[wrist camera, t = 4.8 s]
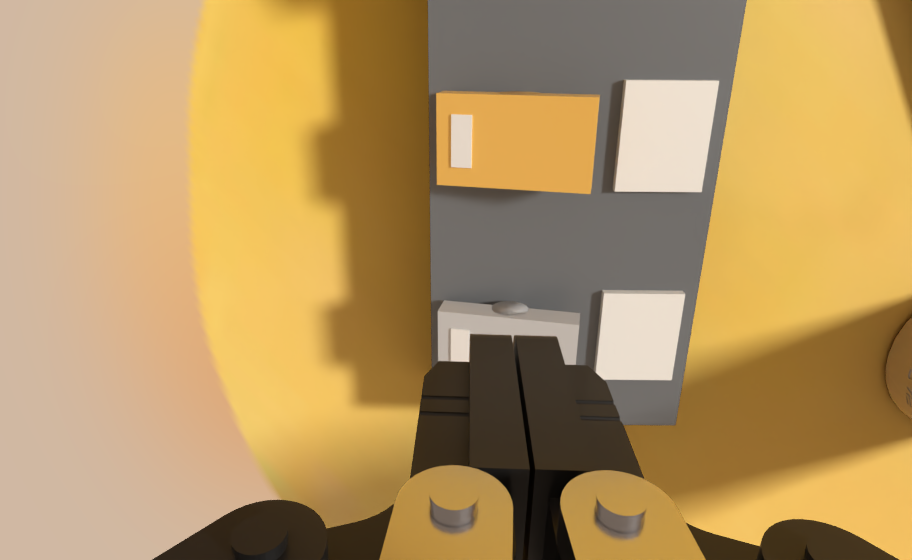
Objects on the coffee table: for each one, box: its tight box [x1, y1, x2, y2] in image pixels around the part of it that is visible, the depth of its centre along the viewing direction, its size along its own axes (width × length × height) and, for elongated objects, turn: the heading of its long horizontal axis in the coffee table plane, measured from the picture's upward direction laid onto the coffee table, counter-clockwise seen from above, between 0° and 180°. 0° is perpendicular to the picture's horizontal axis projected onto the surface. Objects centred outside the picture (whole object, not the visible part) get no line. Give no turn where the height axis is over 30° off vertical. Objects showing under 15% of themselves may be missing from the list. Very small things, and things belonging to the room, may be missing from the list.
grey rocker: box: [438, 300, 580, 365], centre depth 27 cm, size 6×4×2 cm, turn 89°
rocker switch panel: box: [428, 0, 747, 425], centre depth 26 cm, size 12×28×4 cm, turn 0°
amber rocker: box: [436, 91, 600, 194], centre depth 24 cm, size 6×4×2 cm, turn 89°
